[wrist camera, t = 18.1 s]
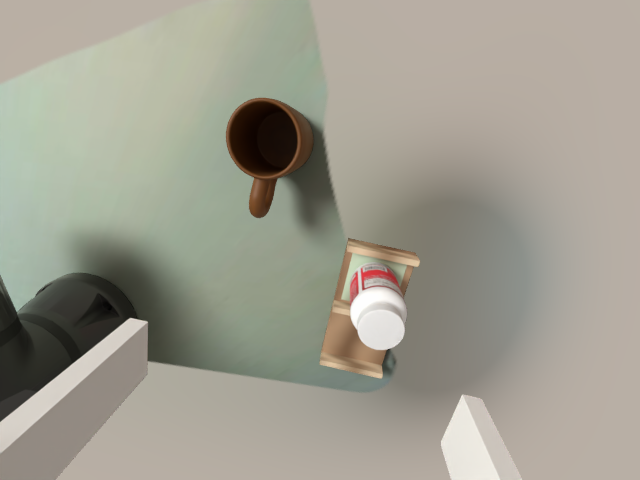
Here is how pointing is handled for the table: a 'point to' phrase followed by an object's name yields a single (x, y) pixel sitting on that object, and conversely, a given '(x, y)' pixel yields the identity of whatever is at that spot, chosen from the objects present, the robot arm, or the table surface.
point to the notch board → (341, 334)
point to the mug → (267, 146)
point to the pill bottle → (377, 306)
